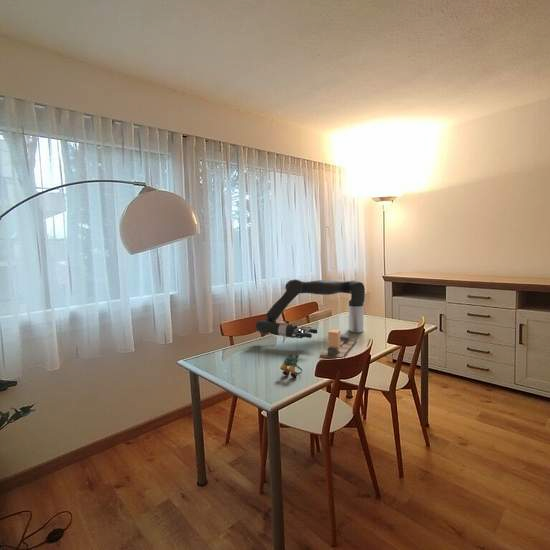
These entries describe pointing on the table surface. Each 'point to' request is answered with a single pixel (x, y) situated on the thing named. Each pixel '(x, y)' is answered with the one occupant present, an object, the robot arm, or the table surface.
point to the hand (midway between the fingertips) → (314, 333)
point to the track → (342, 352)
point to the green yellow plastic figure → (292, 363)
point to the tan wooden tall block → (334, 339)
